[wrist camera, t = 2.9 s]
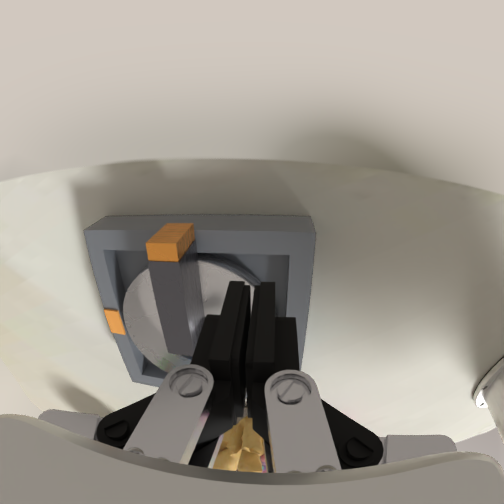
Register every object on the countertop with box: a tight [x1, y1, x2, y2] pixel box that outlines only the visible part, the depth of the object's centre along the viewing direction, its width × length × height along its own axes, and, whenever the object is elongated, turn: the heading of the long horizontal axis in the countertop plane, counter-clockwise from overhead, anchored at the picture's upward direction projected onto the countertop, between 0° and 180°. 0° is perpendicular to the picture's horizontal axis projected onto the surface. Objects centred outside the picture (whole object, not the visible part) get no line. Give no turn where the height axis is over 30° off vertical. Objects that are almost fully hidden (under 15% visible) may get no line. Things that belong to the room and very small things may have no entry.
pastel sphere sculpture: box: [212, 407, 267, 473], centre depth 29 cm, size 25×24×9 cm
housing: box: [84, 215, 316, 398], centre depth 22 cm, size 16×16×3 cm
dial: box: [123, 223, 278, 373], centre depth 19 cm, size 15×12×5 cm
